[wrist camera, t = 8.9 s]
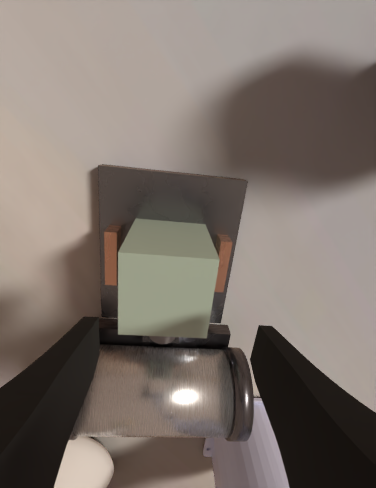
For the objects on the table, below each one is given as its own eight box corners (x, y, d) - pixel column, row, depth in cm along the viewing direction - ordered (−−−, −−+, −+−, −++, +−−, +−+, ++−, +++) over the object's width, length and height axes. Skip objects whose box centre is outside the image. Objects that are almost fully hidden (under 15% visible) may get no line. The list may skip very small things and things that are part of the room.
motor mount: (223, 375, 25) (242, 462, 18) (88, 370, 24) (54, 461, 17) (265, 181, 18) (321, 203, 11) (78, 161, 17) (13, 173, 10)
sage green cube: (195, 300, 20) (203, 359, 15) (133, 297, 20) (117, 356, 14) (205, 224, 18) (219, 259, 12) (135, 218, 18) (118, 252, 12)
